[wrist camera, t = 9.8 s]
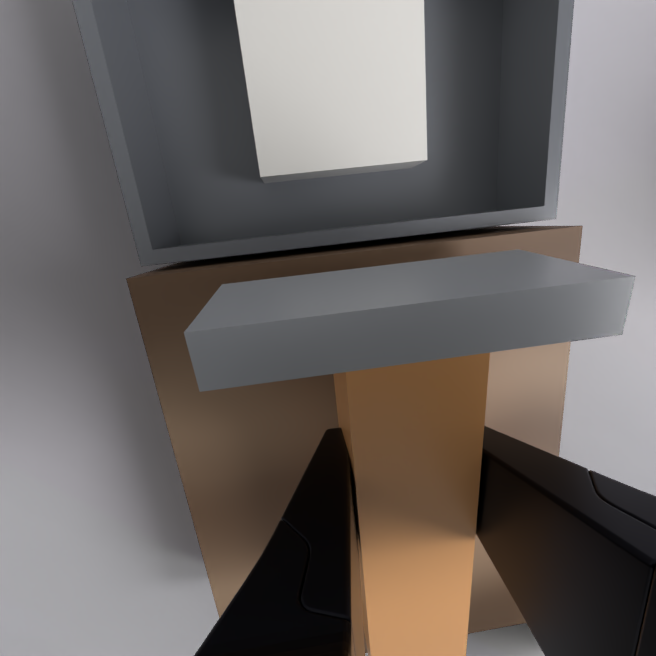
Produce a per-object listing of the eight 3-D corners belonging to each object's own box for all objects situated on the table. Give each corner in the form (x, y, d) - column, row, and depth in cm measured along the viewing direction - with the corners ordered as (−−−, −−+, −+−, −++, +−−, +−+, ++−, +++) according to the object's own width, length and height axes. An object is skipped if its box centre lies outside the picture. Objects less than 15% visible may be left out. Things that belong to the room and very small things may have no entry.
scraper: (488, 544, 12) (549, 651, 9) (284, 579, 11) (283, 702, 9) (518, 249, 8) (635, 276, 5) (221, 284, 8) (184, 332, 5)
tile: (422, -51, 9) (405, -13, 10) (227, -39, 9) (237, -2, 10) (427, 160, 10) (411, 168, 12) (260, 176, 10) (264, 183, 11)
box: (498, 220, 13) (556, 219, 10) (176, 257, 12) (141, 266, 9) (507, -39, 11) (584, -134, 8) (115, -12, 10) (43, -108, 7)
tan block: (487, 533, 17) (541, 619, 14) (249, 574, 17) (235, 677, 13) (498, 226, 13) (582, 226, 9) (177, 262, 12) (126, 278, 9)
